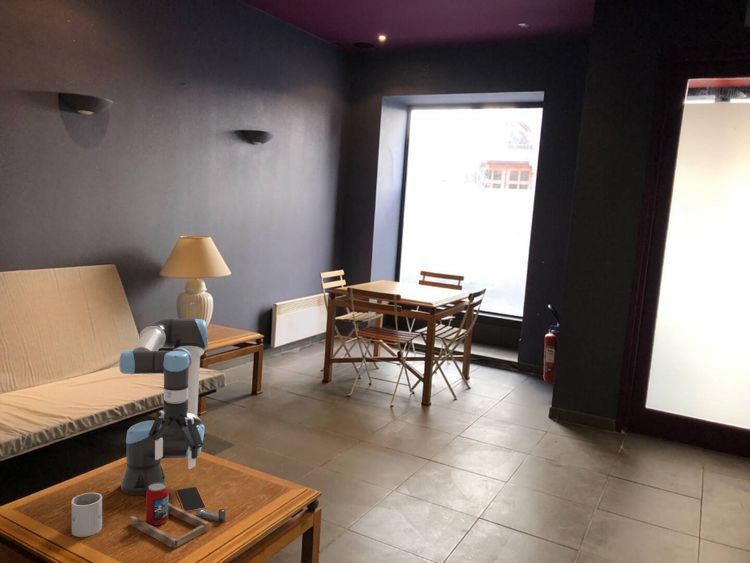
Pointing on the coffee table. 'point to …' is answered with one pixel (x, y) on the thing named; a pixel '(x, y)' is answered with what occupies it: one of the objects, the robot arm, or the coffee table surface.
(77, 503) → the mug
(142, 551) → the coffee table surface
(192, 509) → the smartphone
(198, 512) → the crank handle
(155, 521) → the beverage can
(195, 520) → the bay
